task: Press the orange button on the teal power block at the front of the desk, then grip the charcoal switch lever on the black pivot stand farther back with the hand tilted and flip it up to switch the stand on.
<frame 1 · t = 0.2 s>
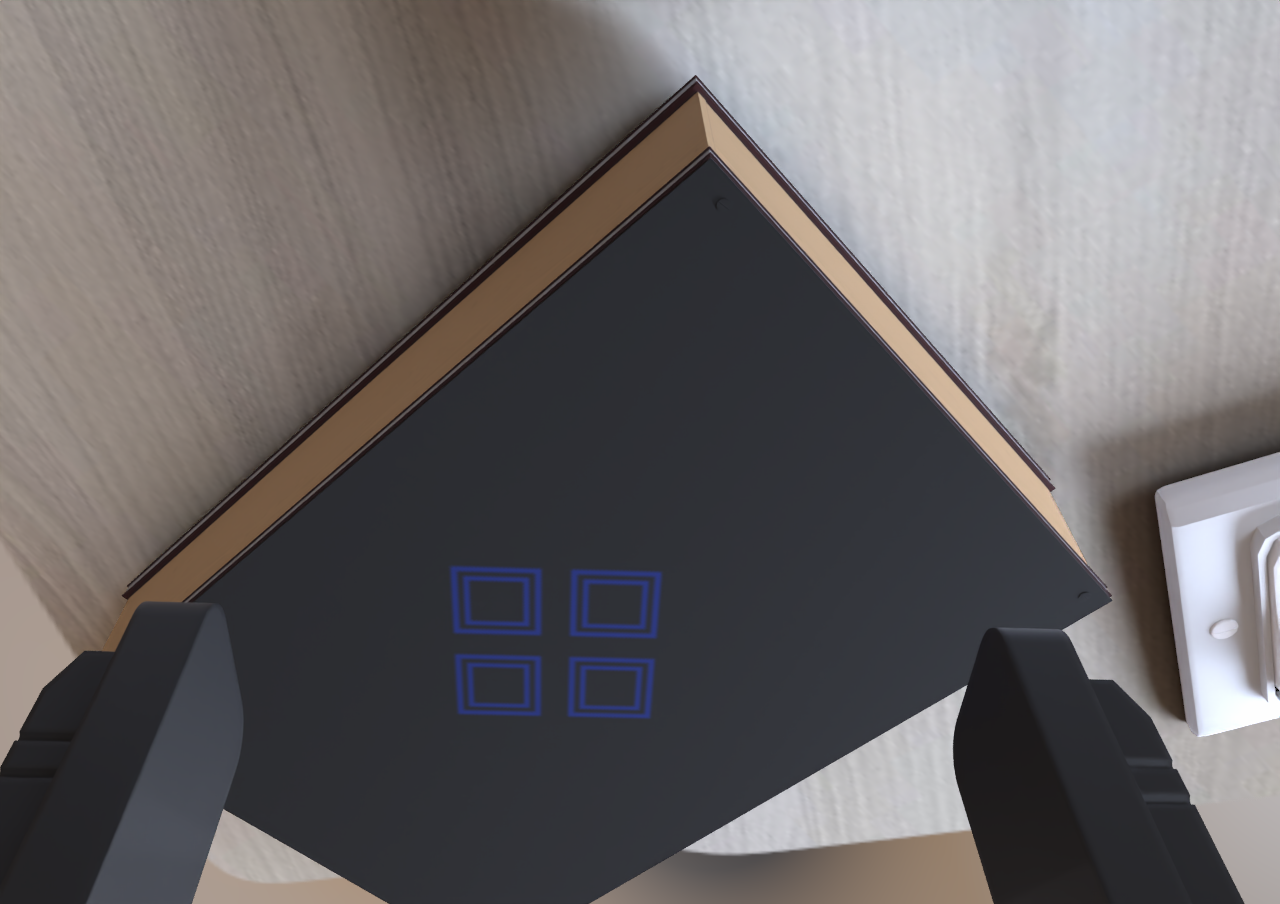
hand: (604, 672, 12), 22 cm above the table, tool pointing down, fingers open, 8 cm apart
book: (579, 514, 39), on the table
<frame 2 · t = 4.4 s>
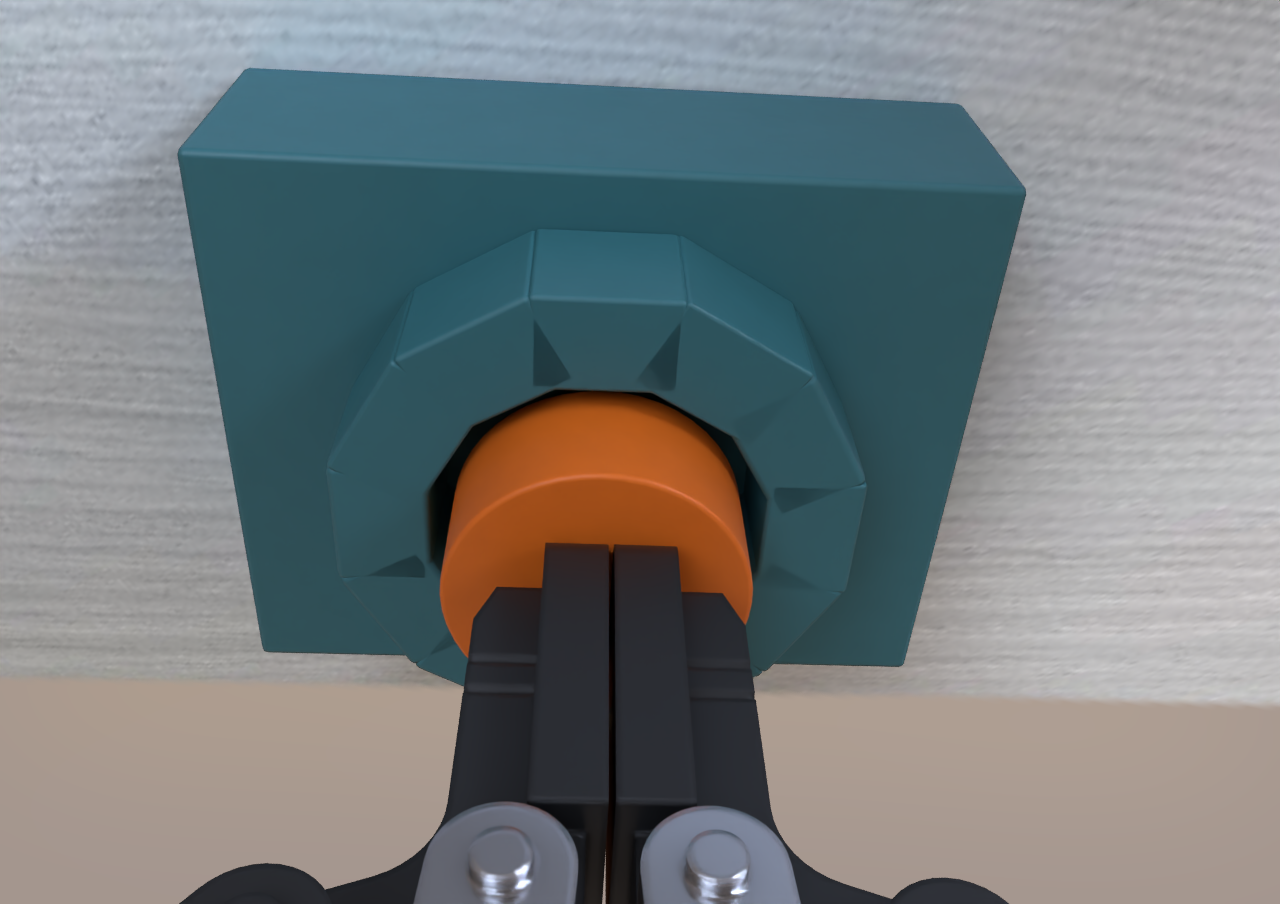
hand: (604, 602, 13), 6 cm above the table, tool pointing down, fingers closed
power block: (598, 336, 19), on the table
power button: (597, 553, 14), point 5 cm above the table, slide at 0.0 cm, touching gripper
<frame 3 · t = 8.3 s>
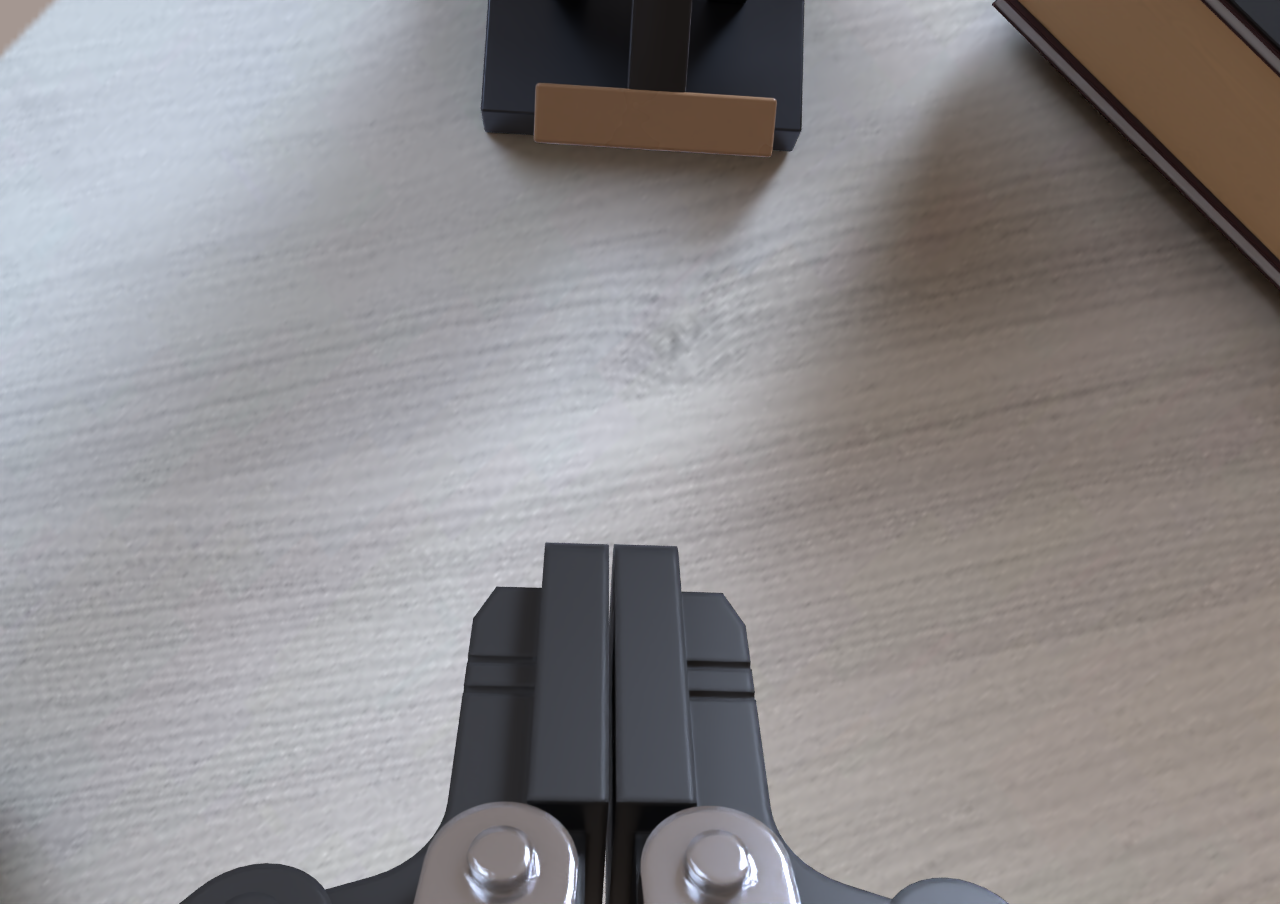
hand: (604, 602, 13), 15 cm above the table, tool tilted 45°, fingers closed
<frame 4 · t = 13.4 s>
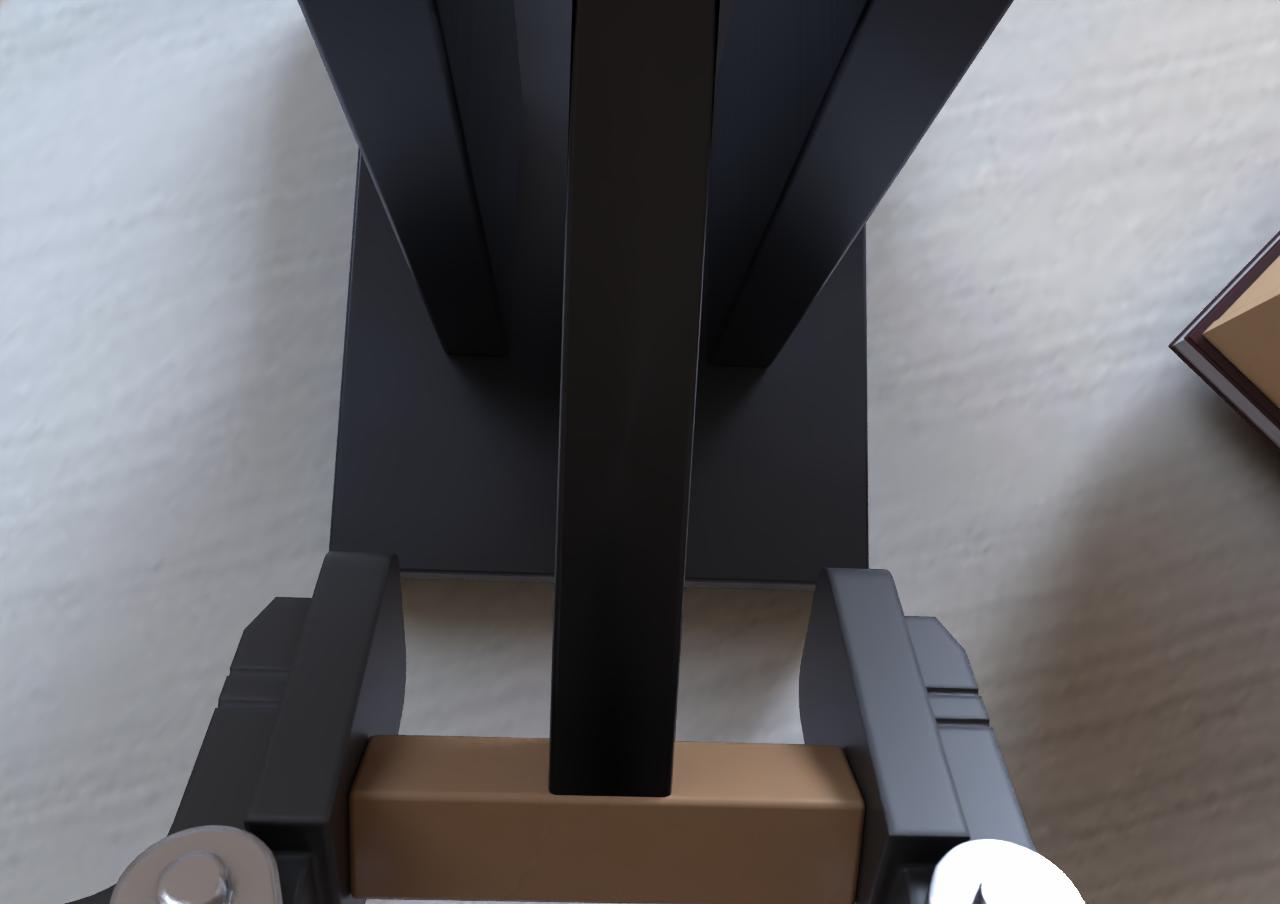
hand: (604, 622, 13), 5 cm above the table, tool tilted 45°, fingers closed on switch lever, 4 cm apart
black pivot stand: (610, 252, 19), on the table
switch lever: (630, 292, 10), point 9 cm above the table, hinge at -25.1°, touching gripper
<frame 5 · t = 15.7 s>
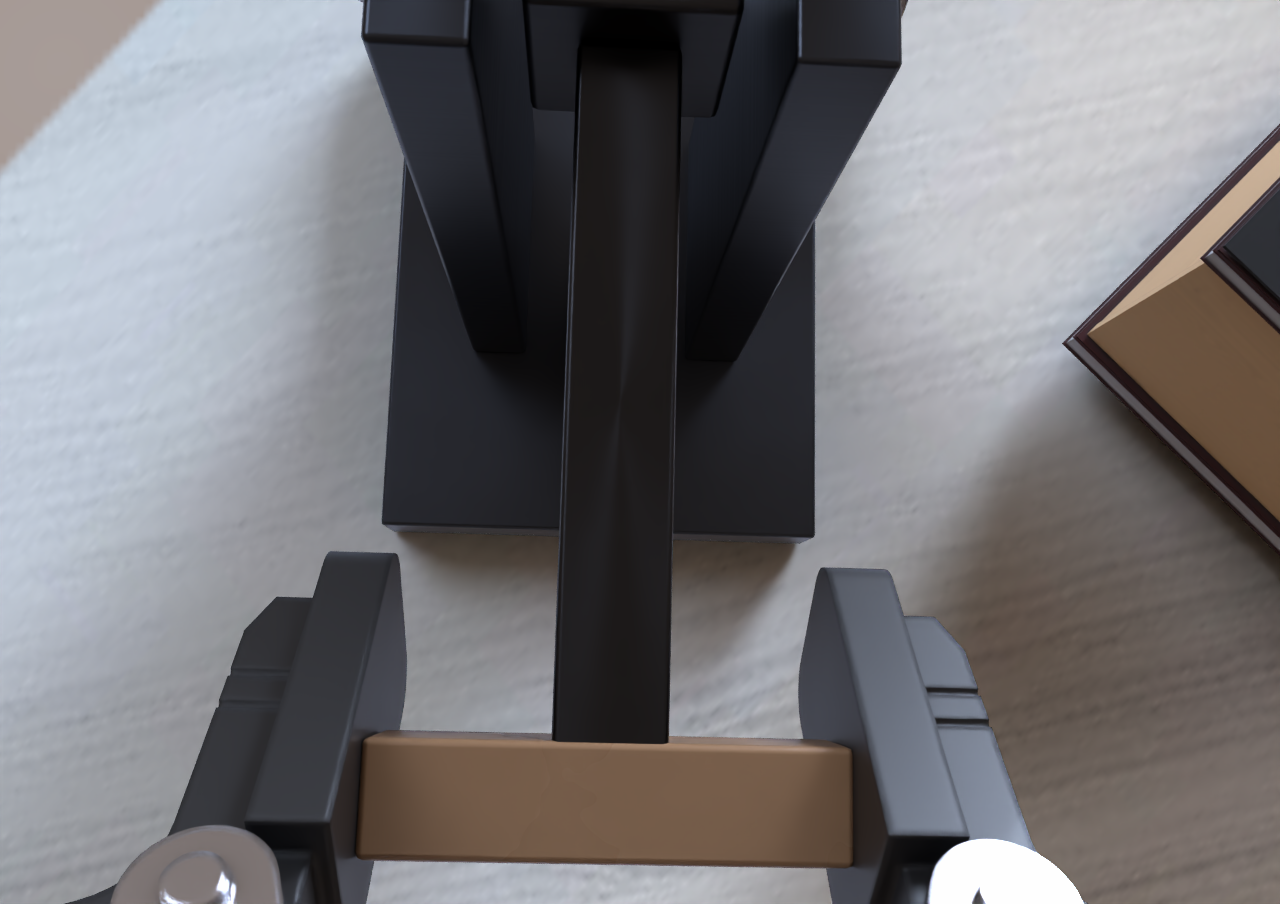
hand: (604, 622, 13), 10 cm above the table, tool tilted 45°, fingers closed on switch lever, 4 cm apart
black pivot stand: (607, 267, 24), on the table
switch lever: (621, 305, 12), point 11 cm above the table, hinge at 0.5°, touching gripper
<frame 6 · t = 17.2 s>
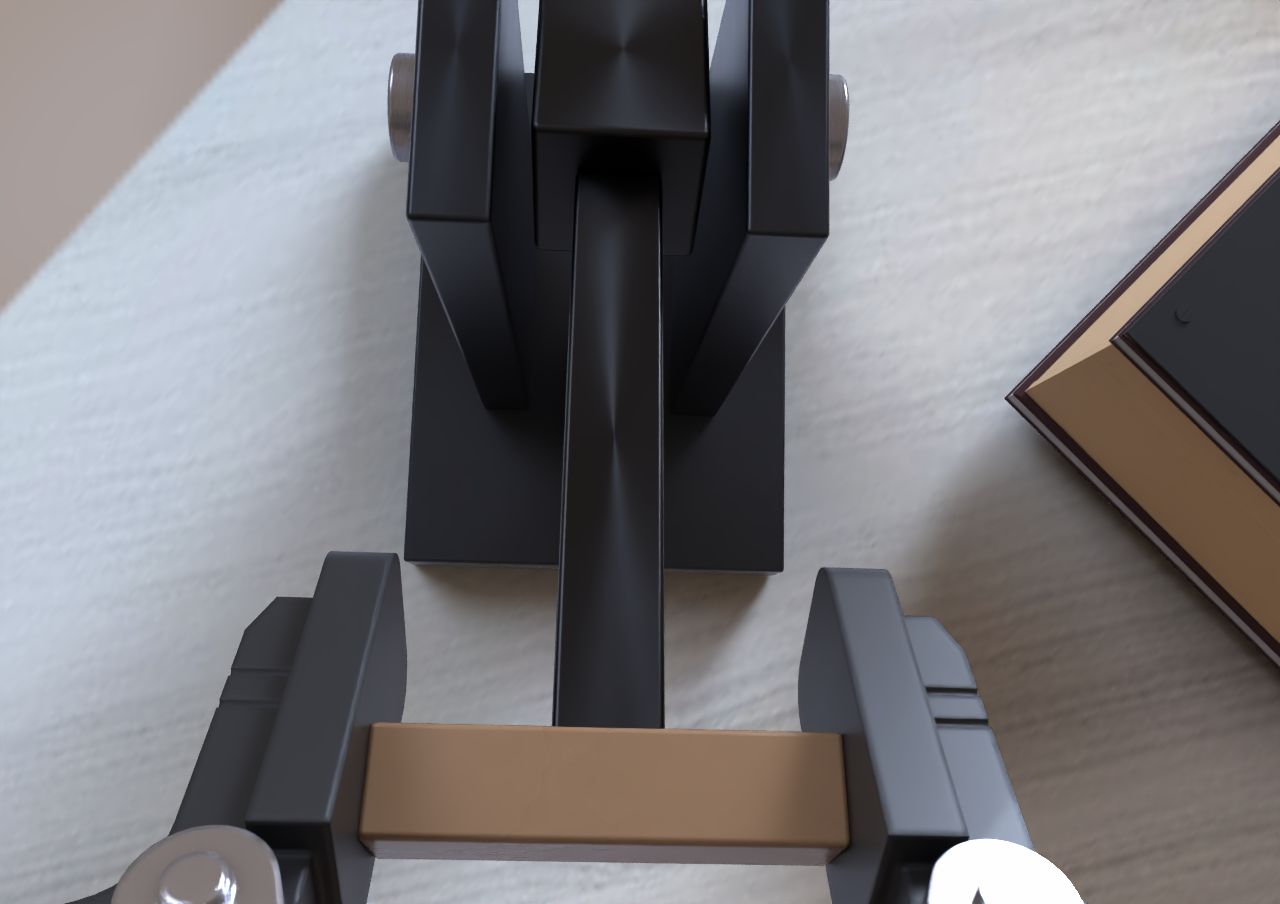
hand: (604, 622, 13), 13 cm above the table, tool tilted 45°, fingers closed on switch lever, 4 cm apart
black pivot stand: (601, 328, 27), on the table
switch lever: (614, 372, 14), point 12 cm above the table, hinge at 19.6°, touching gripper
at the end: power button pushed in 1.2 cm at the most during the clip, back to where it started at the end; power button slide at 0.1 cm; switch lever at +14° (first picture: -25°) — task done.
